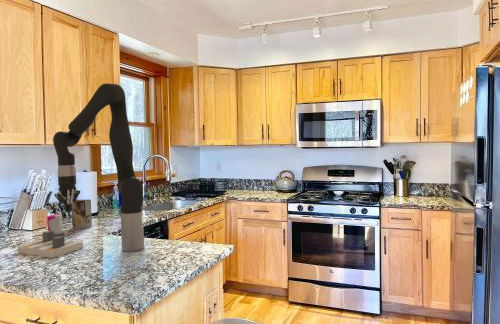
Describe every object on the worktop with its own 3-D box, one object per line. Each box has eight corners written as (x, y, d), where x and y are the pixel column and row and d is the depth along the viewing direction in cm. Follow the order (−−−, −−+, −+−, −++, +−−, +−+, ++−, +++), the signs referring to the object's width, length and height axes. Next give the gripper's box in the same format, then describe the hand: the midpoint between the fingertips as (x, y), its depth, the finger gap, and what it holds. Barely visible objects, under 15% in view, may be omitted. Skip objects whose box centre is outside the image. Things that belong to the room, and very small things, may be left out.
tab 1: (49, 241, 176) (49, 230, 176) (54, 241, 175) (53, 231, 175) (43, 243, 173) (42, 232, 173) (47, 243, 172) (47, 232, 171)
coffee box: (92, 226, 216) (91, 199, 215) (86, 228, 210) (85, 201, 209) (78, 226, 217) (77, 199, 216) (71, 228, 211) (70, 201, 210)
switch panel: (49, 243, 179) (49, 237, 179) (82, 247, 170) (82, 241, 170) (17, 252, 164) (17, 245, 164) (52, 257, 156) (52, 250, 155)
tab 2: (60, 242, 173) (59, 231, 173) (64, 243, 172) (64, 232, 172) (53, 244, 170) (53, 233, 170) (58, 245, 169) (57, 234, 169)
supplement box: (63, 234, 196) (62, 213, 195) (60, 237, 190) (59, 215, 190) (51, 235, 195) (50, 214, 194) (48, 238, 189) (47, 216, 188)
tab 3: (59, 247, 165) (59, 236, 165) (64, 248, 164) (64, 236, 164) (52, 249, 162) (52, 237, 162) (57, 250, 161) (57, 238, 160)
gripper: (72, 173, 176) (74, 209, 176) (48, 176, 163) (50, 214, 164) (84, 173, 173) (85, 210, 174) (60, 176, 160) (62, 215, 161)
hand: (68, 212), depth 169 cm, fingers closed
